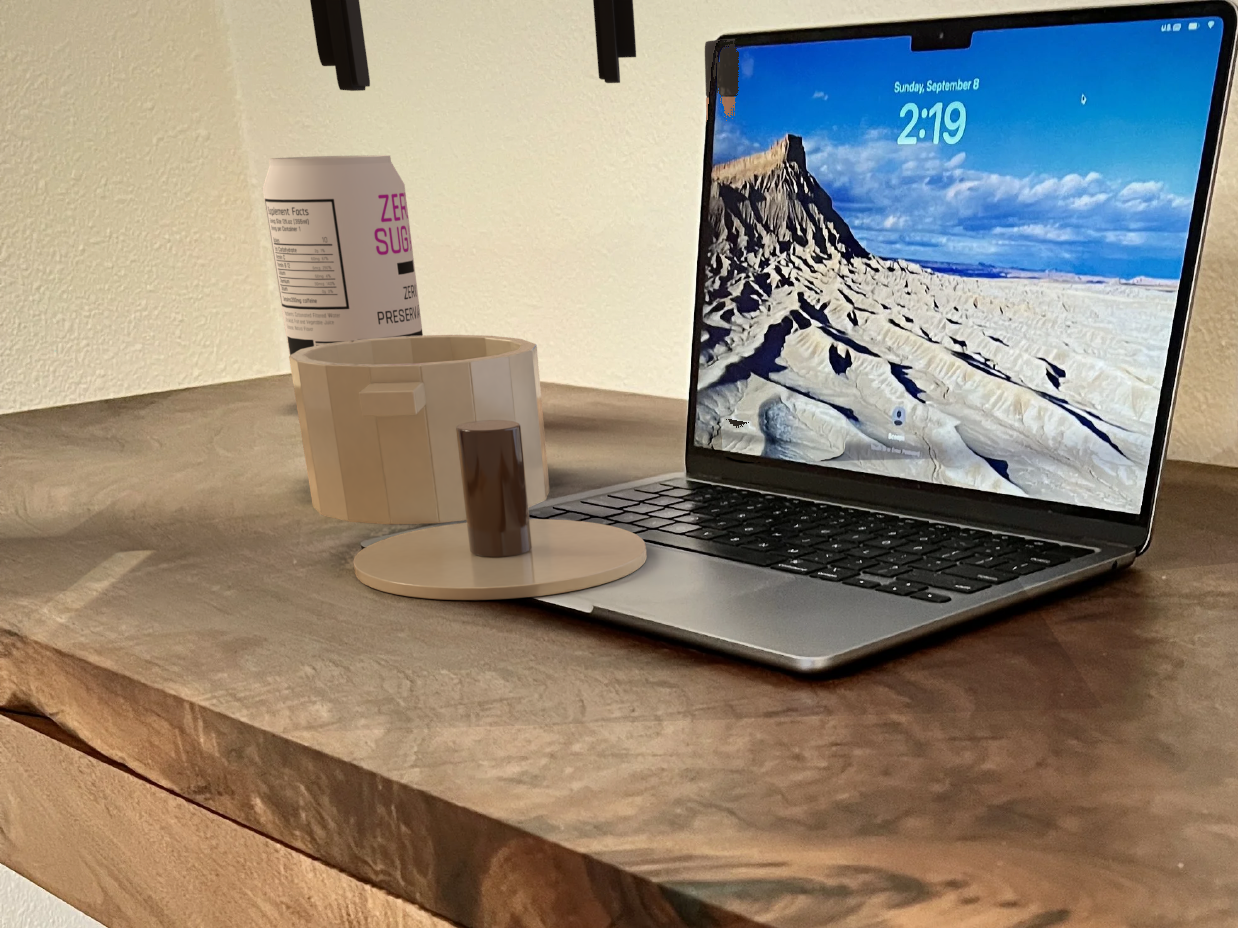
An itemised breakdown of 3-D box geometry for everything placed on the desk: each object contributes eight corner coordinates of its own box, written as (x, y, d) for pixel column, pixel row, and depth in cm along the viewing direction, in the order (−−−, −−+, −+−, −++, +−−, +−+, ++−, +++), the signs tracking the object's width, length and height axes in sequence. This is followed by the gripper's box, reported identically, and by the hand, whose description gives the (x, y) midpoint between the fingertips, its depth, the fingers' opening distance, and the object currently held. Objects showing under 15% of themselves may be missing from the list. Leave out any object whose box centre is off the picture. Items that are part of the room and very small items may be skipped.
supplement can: (298, 420, 105) (255, 157, 97) (426, 412, 107) (394, 153, 99) (304, 440, 98) (259, 159, 91) (441, 431, 100) (407, 155, 93)
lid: (330, 620, 63) (304, 456, 60) (384, 547, 73) (364, 404, 70) (642, 611, 63) (632, 448, 60) (651, 539, 74) (643, 397, 71)
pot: (280, 552, 73) (250, 377, 69) (351, 479, 87) (329, 331, 84) (532, 545, 73) (516, 370, 69) (561, 473, 88) (549, 326, 84)
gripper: (684, -494, 56) (709, 81, 64) (180, -486, 55) (273, 94, 64) (685, -574, 49) (713, 77, 58) (115, -566, 49) (228, 91, 57)
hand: (483, 85), depth 61 cm, fingers open, 9 cm apart
